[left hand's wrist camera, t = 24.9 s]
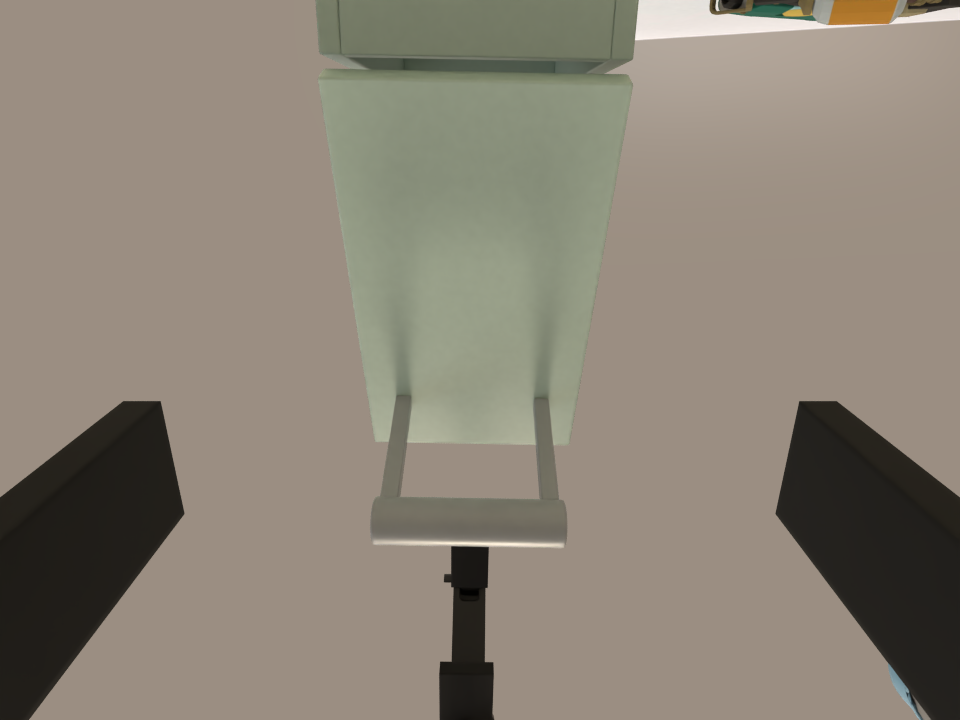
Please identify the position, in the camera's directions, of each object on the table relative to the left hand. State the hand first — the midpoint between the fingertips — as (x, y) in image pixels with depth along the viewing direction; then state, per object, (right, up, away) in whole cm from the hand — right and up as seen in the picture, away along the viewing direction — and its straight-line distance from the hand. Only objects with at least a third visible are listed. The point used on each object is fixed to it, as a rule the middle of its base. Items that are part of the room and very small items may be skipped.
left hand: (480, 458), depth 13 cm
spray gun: (+28, +32, +35) cm, 55 cm away
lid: (0, +5, +13) cm, 13 cm away
